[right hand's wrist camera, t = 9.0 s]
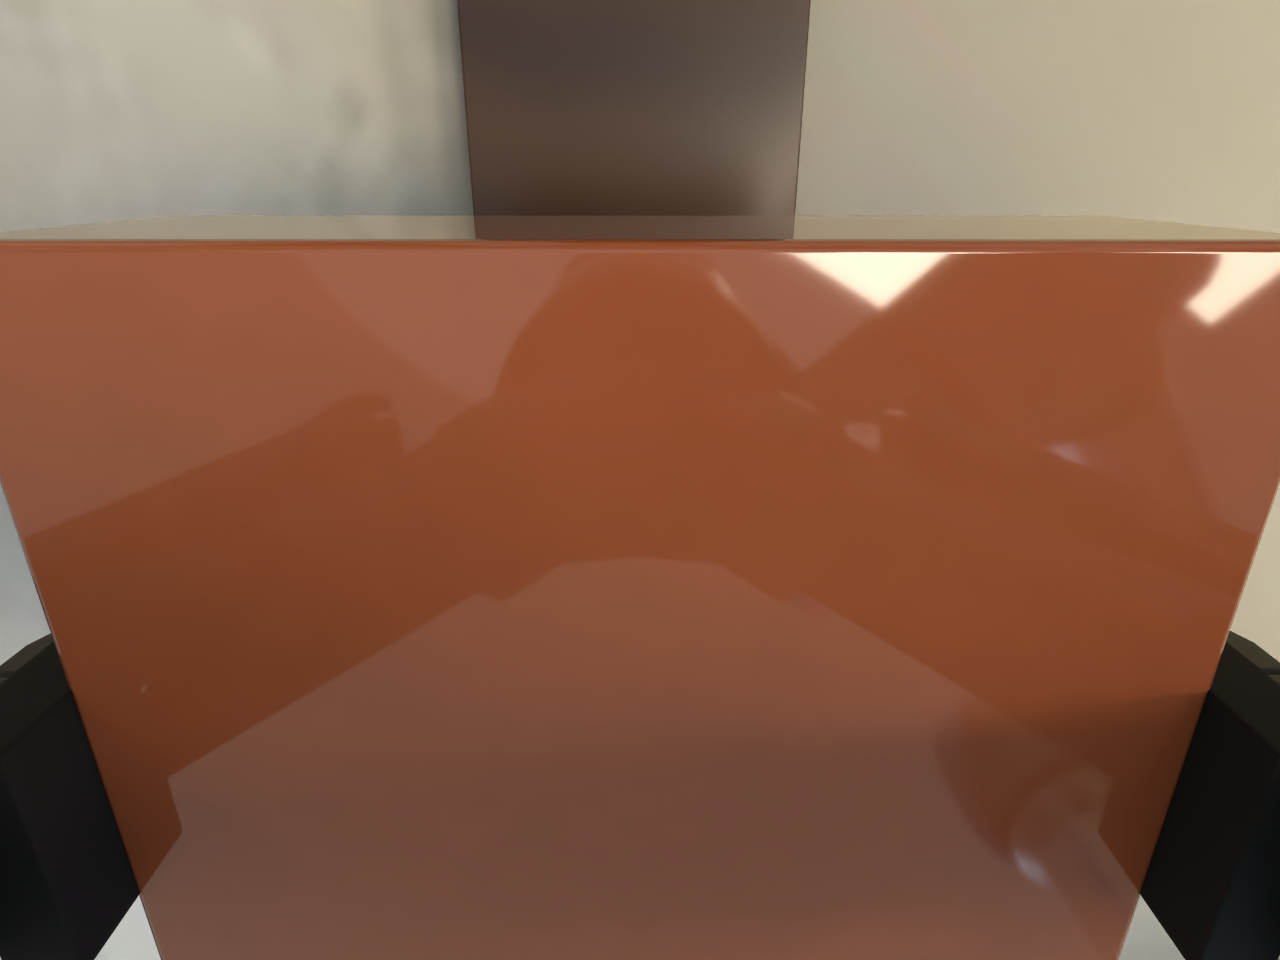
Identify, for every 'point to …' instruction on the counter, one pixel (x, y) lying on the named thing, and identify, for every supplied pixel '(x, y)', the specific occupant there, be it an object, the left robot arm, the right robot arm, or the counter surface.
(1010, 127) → the counter surface
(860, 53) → the counter surface
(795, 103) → the caddy
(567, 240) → the orange square block
